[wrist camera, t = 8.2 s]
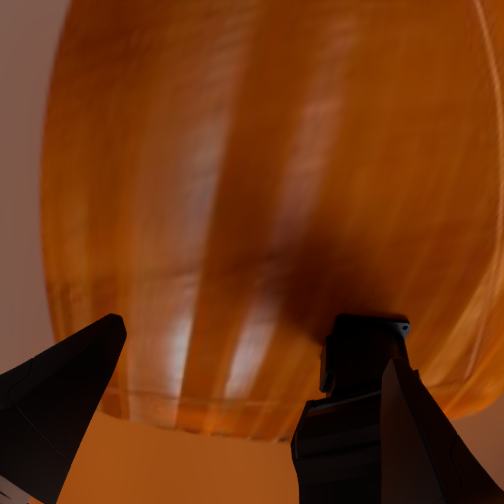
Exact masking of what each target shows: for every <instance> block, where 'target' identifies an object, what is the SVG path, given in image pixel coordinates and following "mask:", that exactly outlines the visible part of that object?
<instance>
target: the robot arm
mask: <svg viewBox="0 0 504 504" xmlns="http://www.w3.org/2000/svg"><path fill="white" fill-rule="evenodd" d="M339 320H343V321H339ZM403 326H405V327H403ZM410 328H411V326H410V322H409V321H408V320H399V319H388V318H377V317H367V316H357V315H347V314H339V315H337V316H336V318H335V322H334V326H333V329H332V333H331V335H328V336H326V339H325V343H324V346H323V350H322V354H321V368H320V386H319V390H320V391H321V392H322V393H326V398H323V399H319V400H309V401H307V402H306V405H305V407H304V410H303V412H302V415H301V418H300V420H299V423H298V425H297V428H296V430H295V433H294V435H293V438H292V441H291V453H292V460H293V464H294V467H295V470H296V473H297V477H298V484H299V504H504V491H503V490H502V489H501V488H500V487H499V486H498V485H497V484H496V483H495V482H494V480H493V479H492V478H491V477H490V476H489V474H488V473H487V472H486V471H485V469H484V468H483V467H482V466H481V465H480V463H479V462H478V461H477V460H476V458H475V457H474V456H473V454H472V453H471V452H470V451H469V449H468V448H467V446H466V445H465V443H464V442H463V440H462V439H461V437H460V436H459V435H457V432H456V430H455V429H454V427H453V426H452V424H451V423H450V421H449V420H448V418H447V417H446V416H445V414H444V413H443V411H442V410H441V408H440V407H439V406H438V404H437V403H436V401H435V400H434V399H433V397H432V396H431V394H430V393H429V392H428V390H427V389H426V387H425V386H424V385H423V383H422V381H421V378H420V374H419V371H418V369H417V370H414V371H413V370H412V368H411V367H410V364H409V359H408V354H407V350H406V345H405V339H406V337H407V335H408V332H409V330H410ZM126 337H127V332H126V328H125V325H124V322H123V318H122V317H121V316H120V315H117V314H113V313H110V314H108V315H106V316H105V317H103V318H101V319H99V320H97V321H96V322H94V323H92V324H90V325H89V326H87V327H85V328H83V329H82V330H80V331H78V332H76V333H75V334H73V335H71V336H69V337H68V338H66V339H64V340H62V341H61V342H59V343H57V344H55V345H54V346H52V347H50V348H49V349H47V350H45V351H43V352H42V353H40V354H38V355H37V356H35V357H34V358H31V359H29V360H28V361H26V362H24V363H22V364H21V365H19V366H17V367H15V368H13V369H11V370H9V371H7V372H5V373H3V374H1V375H0V504H28V501H29V499H30V497H31V496H32V497H34V498H35V499H37V500H39V501H40V502H42V503H44V504H56V502H57V500H58V497H59V494H60V492H61V489H62V487H63V484H64V482H65V479H66V477H67V474H68V472H69V470H70V467H71V464H72V462H73V459H74V457H75V455H76V453H77V450H78V448H79V446H80V443H81V441H82V439H83V437H84V434H85V432H86V430H87V428H88V425H89V423H90V421H91V419H92V417H93V414H94V412H95V410H96V408H97V406H98V404H99V402H100V400H101V397H102V395H103V393H104V391H105V389H106V387H107V385H108V383H109V381H110V379H111V377H112V375H113V372H114V370H115V367H116V364H117V362H118V359H119V356H120V353H121V351H122V348H123V345H124V343H125V340H126Z"/></svg>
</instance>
